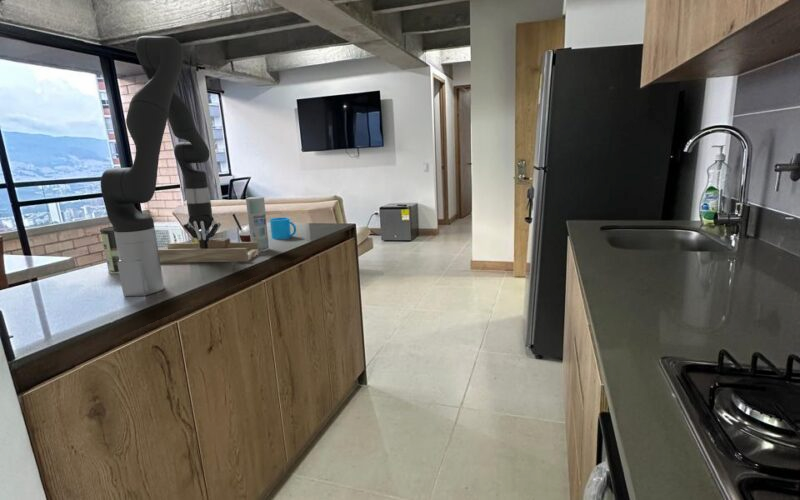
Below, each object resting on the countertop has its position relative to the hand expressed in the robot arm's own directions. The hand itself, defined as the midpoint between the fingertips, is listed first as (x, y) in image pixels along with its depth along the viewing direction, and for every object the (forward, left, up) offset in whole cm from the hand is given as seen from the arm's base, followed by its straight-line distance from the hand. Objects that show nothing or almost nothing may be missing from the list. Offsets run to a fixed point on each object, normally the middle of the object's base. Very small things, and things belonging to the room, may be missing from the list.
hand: (205, 249), depth 150 cm
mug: (+35, -17, -3) cm, 39 cm away
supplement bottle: (+16, +11, -3) cm, 19 cm away
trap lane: (0, 0, -3) cm, 3 cm away
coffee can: (-14, +20, -3) cm, 24 cm away
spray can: (+11, -16, -3) cm, 19 cm away
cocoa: (+26, -4, -3) cm, 26 cm away
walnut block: (0, -5, -1) cm, 5 cm away
